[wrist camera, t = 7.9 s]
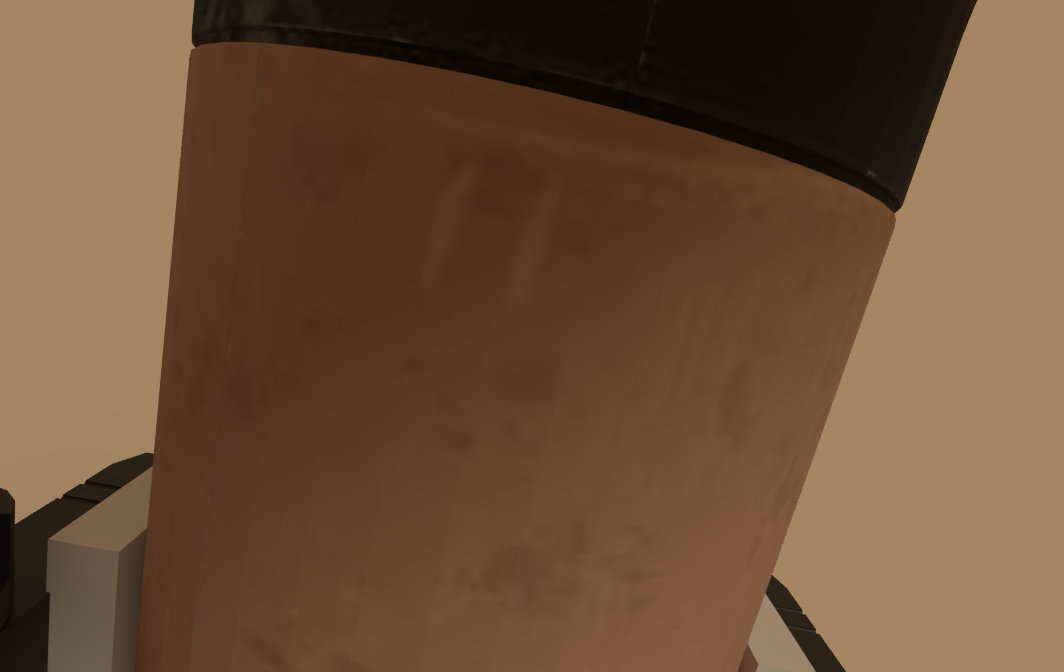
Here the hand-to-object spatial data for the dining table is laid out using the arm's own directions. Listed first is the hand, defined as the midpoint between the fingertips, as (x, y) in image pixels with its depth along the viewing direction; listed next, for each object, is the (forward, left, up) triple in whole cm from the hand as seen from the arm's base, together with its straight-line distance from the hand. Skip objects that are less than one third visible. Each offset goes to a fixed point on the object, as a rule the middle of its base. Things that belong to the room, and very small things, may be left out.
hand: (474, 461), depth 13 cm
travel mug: (0, +5, -11) cm, 12 cm away
